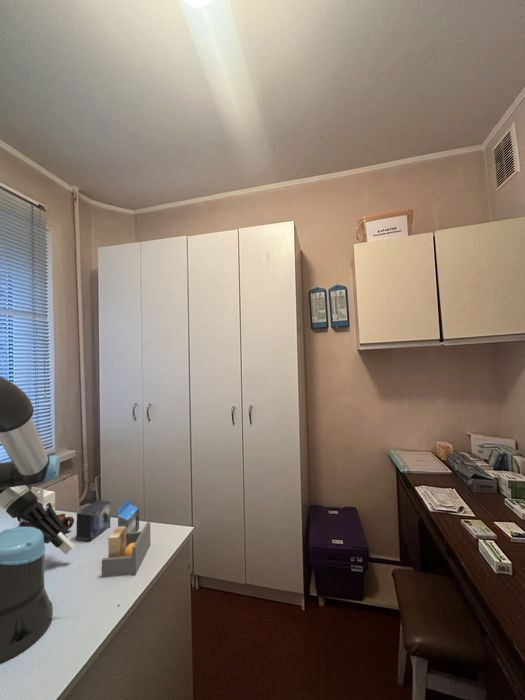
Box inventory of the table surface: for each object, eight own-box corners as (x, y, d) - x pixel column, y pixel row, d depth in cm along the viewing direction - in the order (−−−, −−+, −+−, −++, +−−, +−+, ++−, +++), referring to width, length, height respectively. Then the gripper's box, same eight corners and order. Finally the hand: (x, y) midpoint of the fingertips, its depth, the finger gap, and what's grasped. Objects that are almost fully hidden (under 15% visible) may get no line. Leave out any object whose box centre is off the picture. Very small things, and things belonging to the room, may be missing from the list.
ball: (131, 545, 91) (118, 555, 91) (140, 558, 91) (127, 568, 91) (137, 536, 96) (124, 545, 96) (145, 548, 96) (133, 557, 96)
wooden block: (118, 566, 90) (118, 537, 90) (108, 567, 90) (108, 538, 90) (125, 553, 96) (125, 526, 96) (116, 554, 96) (116, 527, 96)
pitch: (135, 577, 86) (135, 548, 86) (51, 584, 84) (51, 555, 85) (150, 545, 101) (150, 521, 101) (80, 551, 99) (80, 526, 99)
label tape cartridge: (127, 544, 102) (127, 509, 103) (117, 544, 102) (117, 509, 103) (139, 529, 111) (139, 497, 112) (129, 529, 111) (129, 497, 112)
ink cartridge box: (56, 519, 120) (56, 484, 121) (43, 526, 116) (43, 489, 116) (42, 516, 123) (42, 482, 124) (29, 522, 119) (29, 486, 119)
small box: (90, 544, 103) (90, 514, 103) (75, 542, 104) (75, 513, 104) (111, 527, 113) (111, 500, 114) (97, 526, 114) (97, 499, 115)
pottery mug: (33, 546, 103) (33, 521, 107) (49, 543, 111) (49, 520, 115) (68, 533, 106) (68, 509, 109) (82, 531, 114) (80, 509, 117)
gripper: (24, 498, 98) (74, 545, 98) (-10, 519, 85) (47, 573, 85) (40, 482, 99) (90, 529, 99) (9, 501, 86) (66, 554, 86)
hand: (70, 549), depth 92 cm, fingers closed
